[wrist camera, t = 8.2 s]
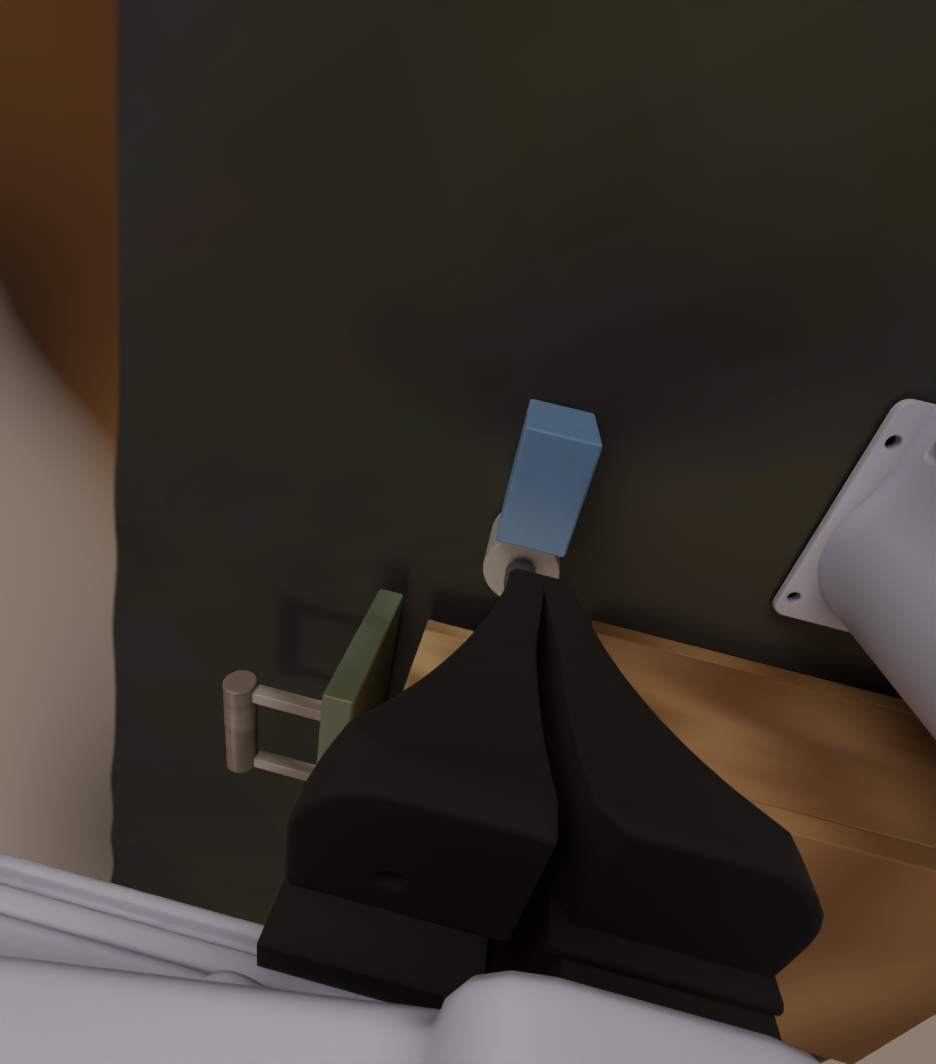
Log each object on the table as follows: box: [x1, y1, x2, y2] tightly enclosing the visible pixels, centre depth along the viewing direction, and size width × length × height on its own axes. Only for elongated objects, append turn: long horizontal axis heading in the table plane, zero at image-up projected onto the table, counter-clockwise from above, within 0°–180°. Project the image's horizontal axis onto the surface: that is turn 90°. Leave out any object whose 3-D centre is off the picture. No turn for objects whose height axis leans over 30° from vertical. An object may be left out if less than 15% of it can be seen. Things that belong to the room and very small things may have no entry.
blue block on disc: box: [483, 399, 603, 596], centre depth 20 cm, size 7×3×4 cm, turn 169°
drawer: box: [223, 589, 474, 781], centre depth 24 cm, size 20×13×7 cm, turn 79°
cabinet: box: [590, 620, 936, 1064], centre depth 24 cm, size 16×14×9 cm
